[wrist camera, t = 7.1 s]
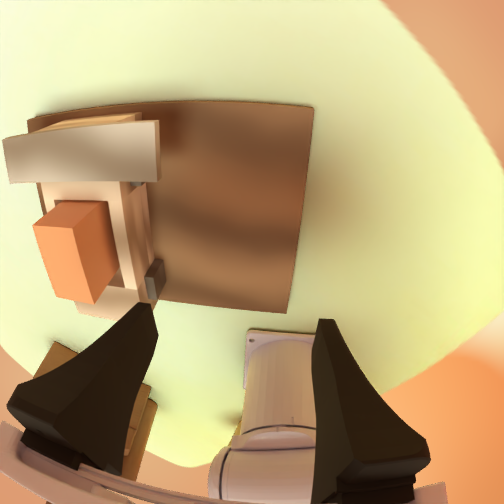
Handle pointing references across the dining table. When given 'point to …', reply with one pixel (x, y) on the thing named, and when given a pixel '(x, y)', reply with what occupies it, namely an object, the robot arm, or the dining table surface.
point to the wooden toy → (138, 422)
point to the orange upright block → (78, 248)
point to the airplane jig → (180, 195)
